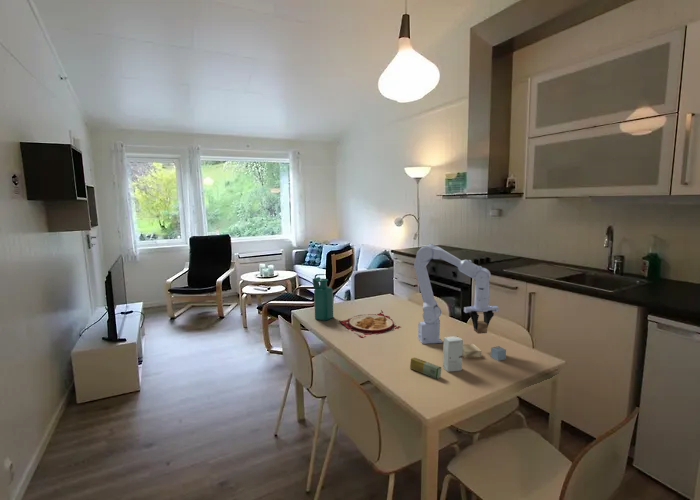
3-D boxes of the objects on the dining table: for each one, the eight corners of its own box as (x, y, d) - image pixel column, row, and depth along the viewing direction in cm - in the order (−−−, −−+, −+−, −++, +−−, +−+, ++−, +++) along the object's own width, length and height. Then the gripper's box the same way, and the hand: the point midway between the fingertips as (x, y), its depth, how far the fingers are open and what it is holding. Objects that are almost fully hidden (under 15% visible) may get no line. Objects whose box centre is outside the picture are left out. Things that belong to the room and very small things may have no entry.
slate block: (497, 360, 143) (498, 351, 143) (490, 356, 147) (491, 347, 147) (505, 359, 145) (506, 349, 144) (498, 355, 149) (498, 346, 148)
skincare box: (447, 372, 134) (448, 341, 133) (442, 367, 139) (442, 337, 137) (462, 370, 136) (463, 339, 134) (456, 365, 140) (457, 335, 138)
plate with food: (338, 323, 190) (338, 317, 190) (381, 315, 202) (381, 308, 201) (360, 340, 169) (360, 333, 168) (407, 329, 180) (407, 322, 180)
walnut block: (478, 333, 152) (478, 324, 151) (473, 330, 156) (474, 321, 155) (487, 333, 152) (487, 324, 152) (482, 329, 156) (482, 320, 156)
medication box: (441, 377, 131) (442, 367, 130) (437, 379, 129) (438, 368, 129) (413, 366, 139) (414, 356, 139) (409, 368, 137) (410, 358, 137)
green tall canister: (334, 317, 199) (334, 278, 196) (325, 321, 192) (324, 281, 189) (320, 314, 204) (319, 276, 201) (311, 318, 197) (310, 279, 194)
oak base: (464, 358, 146) (465, 351, 146) (457, 351, 153) (457, 344, 153) (481, 357, 147) (481, 350, 147) (473, 350, 154) (473, 344, 154)
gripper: (469, 300, 147) (468, 332, 149) (503, 299, 149) (501, 330, 151) (462, 295, 154) (461, 326, 156) (494, 294, 156) (492, 324, 158)
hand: (480, 327), depth 154 cm, fingers closed on walnut block, 4 cm apart
